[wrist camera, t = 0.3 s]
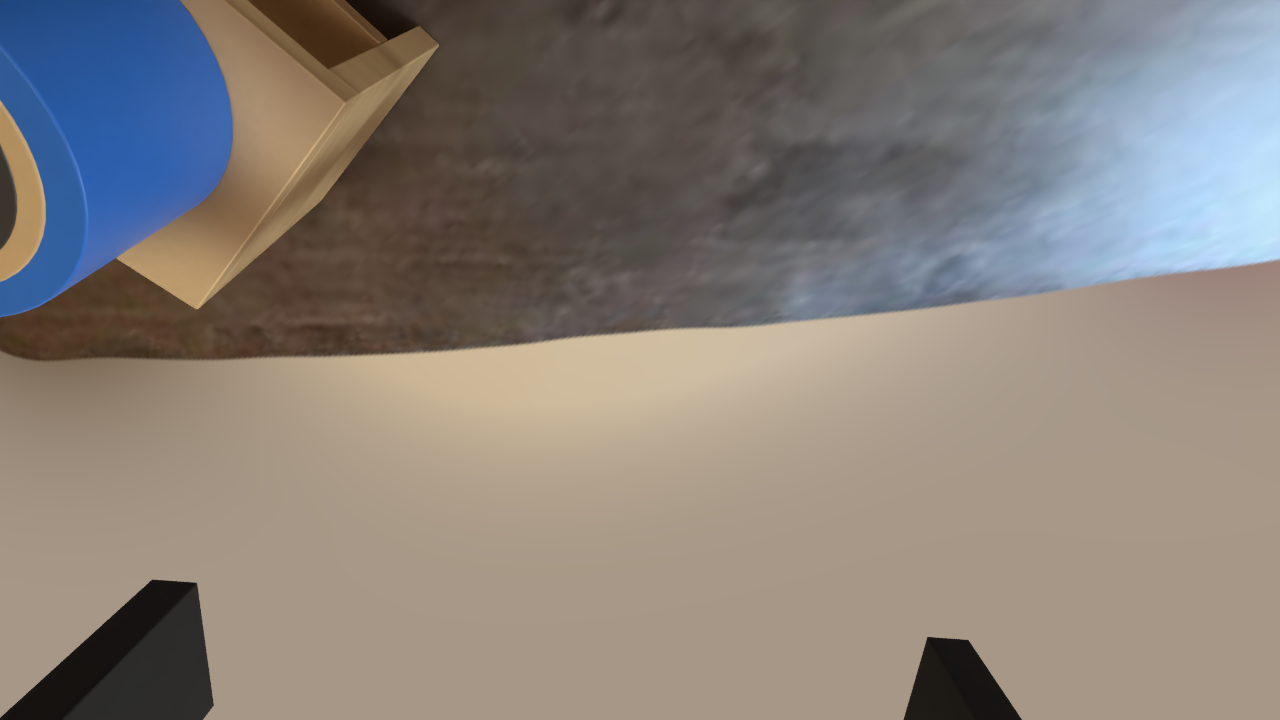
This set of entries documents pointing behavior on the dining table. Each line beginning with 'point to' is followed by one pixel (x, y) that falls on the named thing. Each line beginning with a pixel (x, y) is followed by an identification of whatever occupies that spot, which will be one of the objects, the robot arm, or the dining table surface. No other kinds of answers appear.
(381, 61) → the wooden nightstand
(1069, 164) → the dining table surface
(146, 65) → the tape roll
